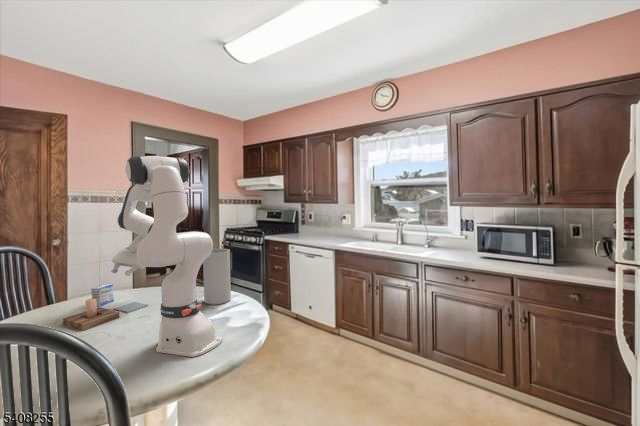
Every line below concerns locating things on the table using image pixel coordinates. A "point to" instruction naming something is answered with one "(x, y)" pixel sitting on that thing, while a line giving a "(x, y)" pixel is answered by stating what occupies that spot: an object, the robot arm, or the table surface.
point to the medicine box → (103, 294)
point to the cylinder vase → (217, 277)
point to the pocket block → (83, 323)
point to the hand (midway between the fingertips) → (119, 273)
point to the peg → (91, 308)
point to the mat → (130, 307)
